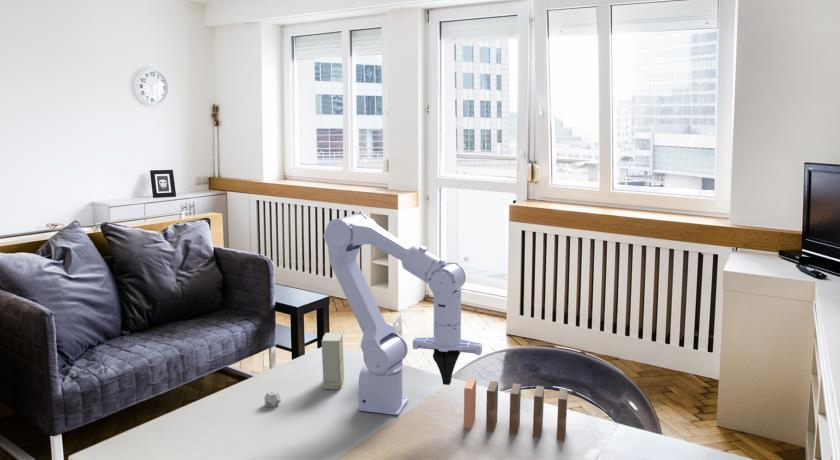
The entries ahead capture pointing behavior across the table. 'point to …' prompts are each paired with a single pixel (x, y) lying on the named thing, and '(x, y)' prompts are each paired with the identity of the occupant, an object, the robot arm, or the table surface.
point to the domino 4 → (562, 414)
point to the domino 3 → (538, 411)
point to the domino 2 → (515, 409)
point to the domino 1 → (492, 406)
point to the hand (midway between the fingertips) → (447, 382)
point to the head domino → (469, 403)
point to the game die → (272, 399)
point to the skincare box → (332, 360)
